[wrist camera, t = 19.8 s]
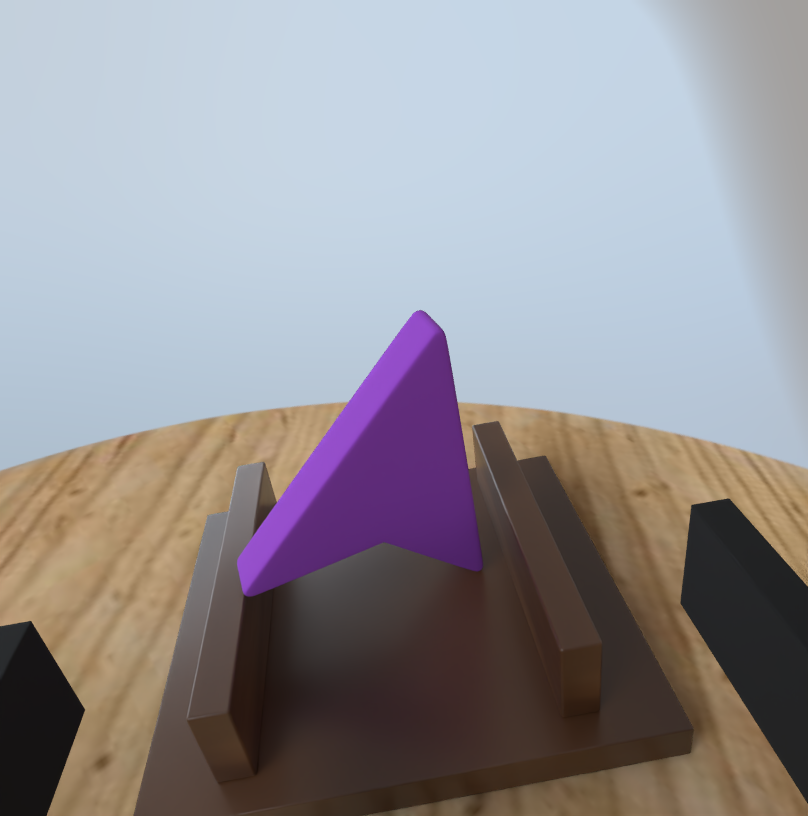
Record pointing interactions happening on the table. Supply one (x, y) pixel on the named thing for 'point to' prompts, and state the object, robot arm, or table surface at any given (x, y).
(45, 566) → the table surface
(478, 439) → the rack
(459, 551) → the arrowhead
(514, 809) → the table surface
